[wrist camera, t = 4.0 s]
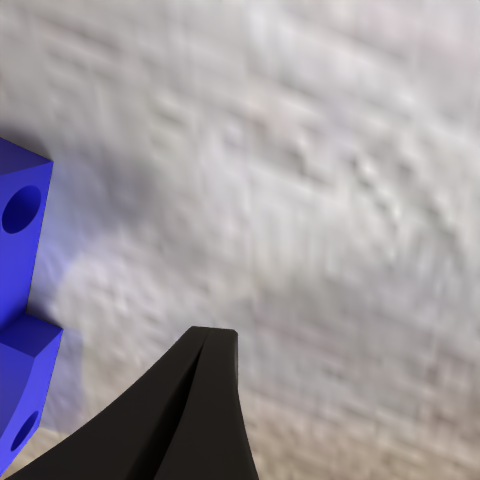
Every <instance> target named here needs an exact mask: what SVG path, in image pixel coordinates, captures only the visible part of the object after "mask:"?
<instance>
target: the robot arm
mask: <svg viewBox="0 0 480 480" xmlns="http://www.w3.org/2000/svg"><path fill="white" fill-rule="evenodd" d="M4 480H259V478H258V474H257V471H256V468H255V464H254V461H253V457H252V453H251V450H250V446H249V442H248V438H247V434H246V430H245V425H244V421H243V416H242V411H241V406H240V401H239V395H238V333H237V332H236V331H235V330H232V329H221V328H209V327H197V326H192V327H190V328H189V329H188V330H187V331H186V332H185V333H184V334H183V335H182V336H181V337H180V338H179V339H178V341H177V342H176V343H175V344H174V345H173V346H172V347H171V348H170V349H169V350H168V351H167V352H166V353H165V354H164V355H163V356H162V357H161V358H160V359H159V360H158V361H157V362H156V363H155V364H154V365H153V366H152V367H151V368H150V369H149V370H148V371H147V372H146V373H145V374H144V375H143V376H141V377H140V378H139V379H138V380H137V381H136V382H135V383H134V384H133V385H132V386H130V387H129V388H128V389H127V390H126V391H125V392H124V393H123V394H121V395H120V396H119V397H118V398H117V399H116V400H115V401H113V402H112V403H111V404H110V405H109V406H107V407H106V408H105V409H104V410H103V411H101V412H100V413H99V414H98V415H96V416H95V417H94V418H93V419H91V420H90V421H89V422H87V423H86V424H85V425H84V426H82V427H81V428H80V429H78V430H77V431H76V432H74V433H73V434H72V435H70V436H69V437H67V438H66V439H65V440H63V441H62V442H60V443H59V444H58V445H56V446H55V447H53V448H52V449H50V450H49V451H47V452H46V453H44V454H43V455H41V456H40V457H38V458H37V459H35V460H34V461H32V462H31V463H29V464H28V465H26V466H25V467H23V468H22V469H20V470H19V471H17V472H16V473H14V474H13V475H11V476H9V477H8V478H6V479H4Z"/></svg>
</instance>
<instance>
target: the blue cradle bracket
mask: <svg viewBox="0 0 480 480" xmlns="http://www.w3.org/2000/svg"><path fill="white" fill-rule="evenodd" d="M52 167H53V161H51V160H49V159H46V158H44V157H42V156H40V155H38V154H35V153H33V152H31V151H29V150H27V149H24V148H22V147H20V146H18V145H16V144H14V143H11V142H9V141H7V140H5V139H3V138H0V477H1V475H2V474H3V473H4V471H5V470H6V469H7V467H8V466H9V465H10V464H11V462H12V461H13V460H14V458H15V457H16V456H17V454H18V453H19V452H20V451H21V449H22V448H23V447H24V445H25V444H26V443H27V441H28V440H29V439H30V438H31V436H32V435H33V434H34V432H35V431H36V430H37V429H38V426H39V422H40V418H41V414H42V410H43V406H44V403H45V399H46V395H47V391H48V387H49V383H50V379H51V375H52V371H53V367H54V363H55V359H56V356H57V352H58V348H59V344H60V340H61V336H62V332H63V329H61V328H59V327H57V326H55V325H52V324H50V323H48V322H45V321H43V320H41V319H39V318H36V317H34V316H32V315H29V314H27V313H25V311H26V306H27V300H28V295H29V289H30V284H31V279H32V273H33V268H34V263H35V257H36V252H37V247H38V241H39V236H40V231H41V225H42V220H43V215H44V209H45V204H46V199H47V193H48V188H49V183H50V177H51V172H52Z"/></svg>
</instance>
